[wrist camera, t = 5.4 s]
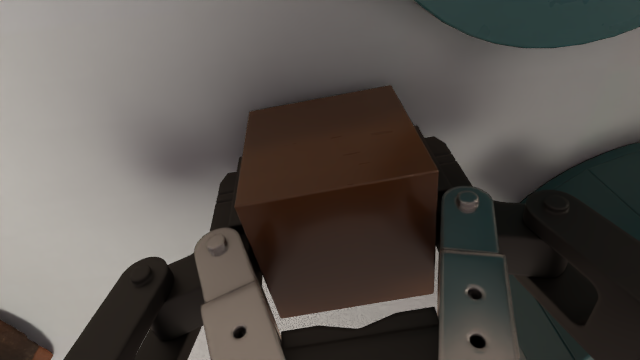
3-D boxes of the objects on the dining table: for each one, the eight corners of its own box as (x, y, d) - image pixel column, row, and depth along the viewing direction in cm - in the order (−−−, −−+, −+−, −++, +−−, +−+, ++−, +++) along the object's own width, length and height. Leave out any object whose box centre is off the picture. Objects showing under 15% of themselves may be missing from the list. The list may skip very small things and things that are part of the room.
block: (248, 110, 12) (233, 207, 9) (391, 84, 12) (439, 170, 8) (281, 214, 15) (280, 319, 12) (396, 193, 15) (434, 294, 11)
